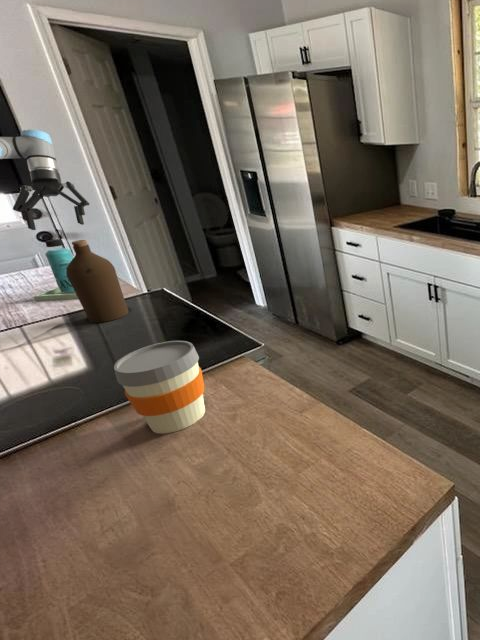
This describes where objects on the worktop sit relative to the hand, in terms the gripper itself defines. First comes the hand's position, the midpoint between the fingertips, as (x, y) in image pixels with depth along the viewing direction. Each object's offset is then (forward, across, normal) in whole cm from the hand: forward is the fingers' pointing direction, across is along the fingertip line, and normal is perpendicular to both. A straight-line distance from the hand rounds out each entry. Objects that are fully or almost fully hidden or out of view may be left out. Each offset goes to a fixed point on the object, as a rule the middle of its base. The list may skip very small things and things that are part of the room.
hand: (57, 226), depth 154 cm
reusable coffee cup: (+76, -50, +98) cm, 133 cm away
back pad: (+28, -3, +5) cm, 28 cm away
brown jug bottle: (+42, -20, +33) cm, 57 cm away
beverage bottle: (+27, -3, +5) cm, 28 cm away
